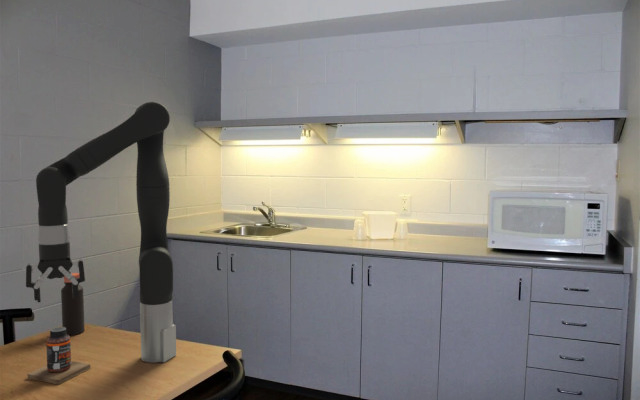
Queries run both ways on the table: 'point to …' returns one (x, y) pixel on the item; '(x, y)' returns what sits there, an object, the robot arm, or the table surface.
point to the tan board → (59, 373)
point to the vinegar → (72, 308)
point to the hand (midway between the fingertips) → (56, 299)
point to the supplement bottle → (58, 350)
